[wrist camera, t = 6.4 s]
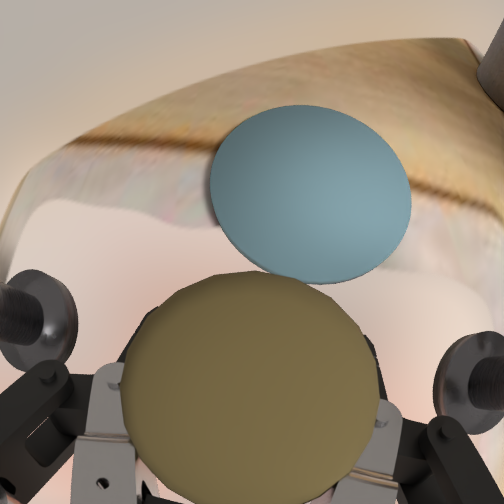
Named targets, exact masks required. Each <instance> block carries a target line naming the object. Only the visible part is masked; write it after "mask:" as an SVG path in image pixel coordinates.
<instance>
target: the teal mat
mask: <svg viewBox="0 0 504 504" xmlns="http://www.w3.org/2000/svg"><path fill="white" fill-rule="evenodd" d="M210 192H211V199H212V203H213V207H214V210H215V214H216V217H217V220H218V222H219V224H220V226H221V228H222V230H223V232H224V233H225V235H226V236H227V238H228V239H229V240H230V242H231V243H232V244H233V245H234V246H235V248H236V249H237V250H238V251H239V252H240V253H241V254H242V255H244V256H245V257H246V258H247V259H248V260H249V261H251V262H252V263H254V264H255V265H257V266H258V267H260V268H261V269H263V270H265V271H267V272H269V273H271V274H275V275H280V276H286V277H291V278H296V279H297V280H299V281H301V282H303V283H305V284H318V285H322V284H336V283H340V282H345V281H349V280H352V279H354V278H357V277H359V276H362V275H364V274H366V273H367V272H369V271H371V270H373V269H374V268H375V267H377V266H378V265H379V264H381V263H382V262H383V261H384V260H385V259H386V258H388V257H389V255H390V254H391V253H392V252H393V251H394V250H395V249H396V248H397V246H398V245H399V243H400V242H401V240H402V239H403V236H404V234H405V232H406V230H407V227H408V223H409V220H410V214H411V192H410V186H409V182H408V179H407V176H406V173H405V170H404V168H403V166H402V164H401V162H400V160H399V159H398V157H397V156H396V154H395V153H394V151H393V150H392V149H391V147H390V146H389V145H388V144H387V143H386V142H385V141H384V140H383V139H382V138H381V137H380V136H379V135H378V134H377V133H376V132H375V131H373V130H372V129H371V128H369V127H368V126H366V125H365V124H363V123H362V122H360V121H358V120H356V119H355V118H353V117H351V116H348V115H346V114H344V113H341V112H338V111H335V110H332V109H328V108H323V107H318V106H308V105H293V106H283V107H278V108H274V109H270V110H267V111H264V112H261V113H259V114H257V115H255V116H252V117H251V118H249V119H247V120H246V121H244V122H243V123H241V124H240V125H239V126H238V127H236V128H235V129H234V130H233V131H232V132H231V133H230V134H229V135H228V136H227V137H226V139H225V140H224V141H223V143H222V144H221V146H220V148H219V149H218V151H217V153H216V155H215V158H214V161H213V164H212V169H211V174H210Z"/></svg>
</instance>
